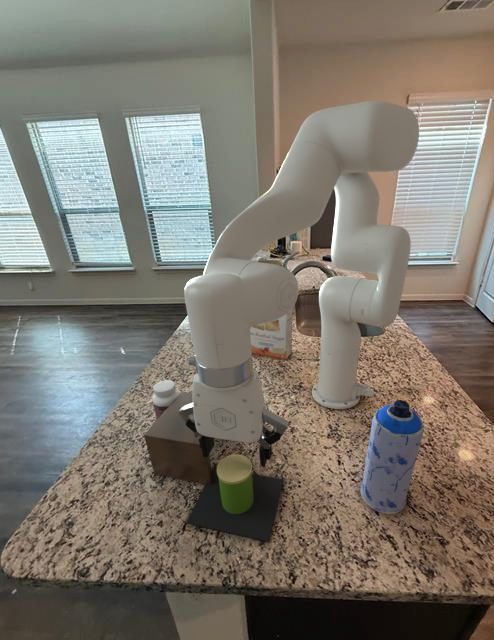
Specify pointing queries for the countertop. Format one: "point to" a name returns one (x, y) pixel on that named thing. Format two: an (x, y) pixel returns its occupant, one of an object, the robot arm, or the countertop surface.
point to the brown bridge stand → (177, 446)
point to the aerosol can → (391, 457)
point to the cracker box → (273, 337)
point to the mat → (246, 524)
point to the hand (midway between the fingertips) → (236, 455)
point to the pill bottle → (163, 396)
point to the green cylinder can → (235, 483)
